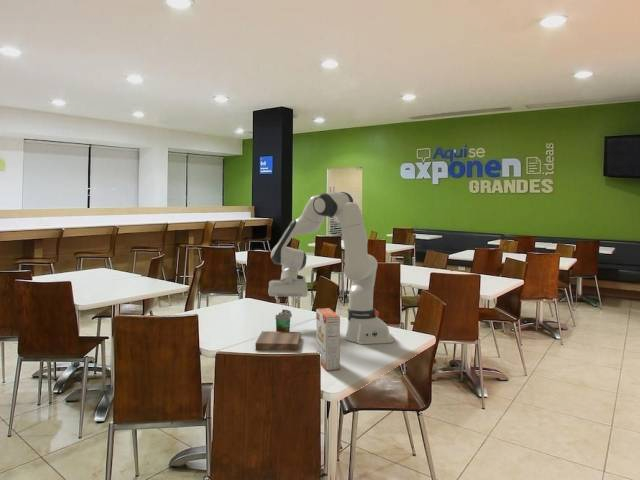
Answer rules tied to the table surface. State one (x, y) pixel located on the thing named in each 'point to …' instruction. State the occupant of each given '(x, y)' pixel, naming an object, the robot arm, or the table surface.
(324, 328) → the cracker box
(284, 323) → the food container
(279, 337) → the walnut stand
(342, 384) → the table surface
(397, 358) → the table surface
